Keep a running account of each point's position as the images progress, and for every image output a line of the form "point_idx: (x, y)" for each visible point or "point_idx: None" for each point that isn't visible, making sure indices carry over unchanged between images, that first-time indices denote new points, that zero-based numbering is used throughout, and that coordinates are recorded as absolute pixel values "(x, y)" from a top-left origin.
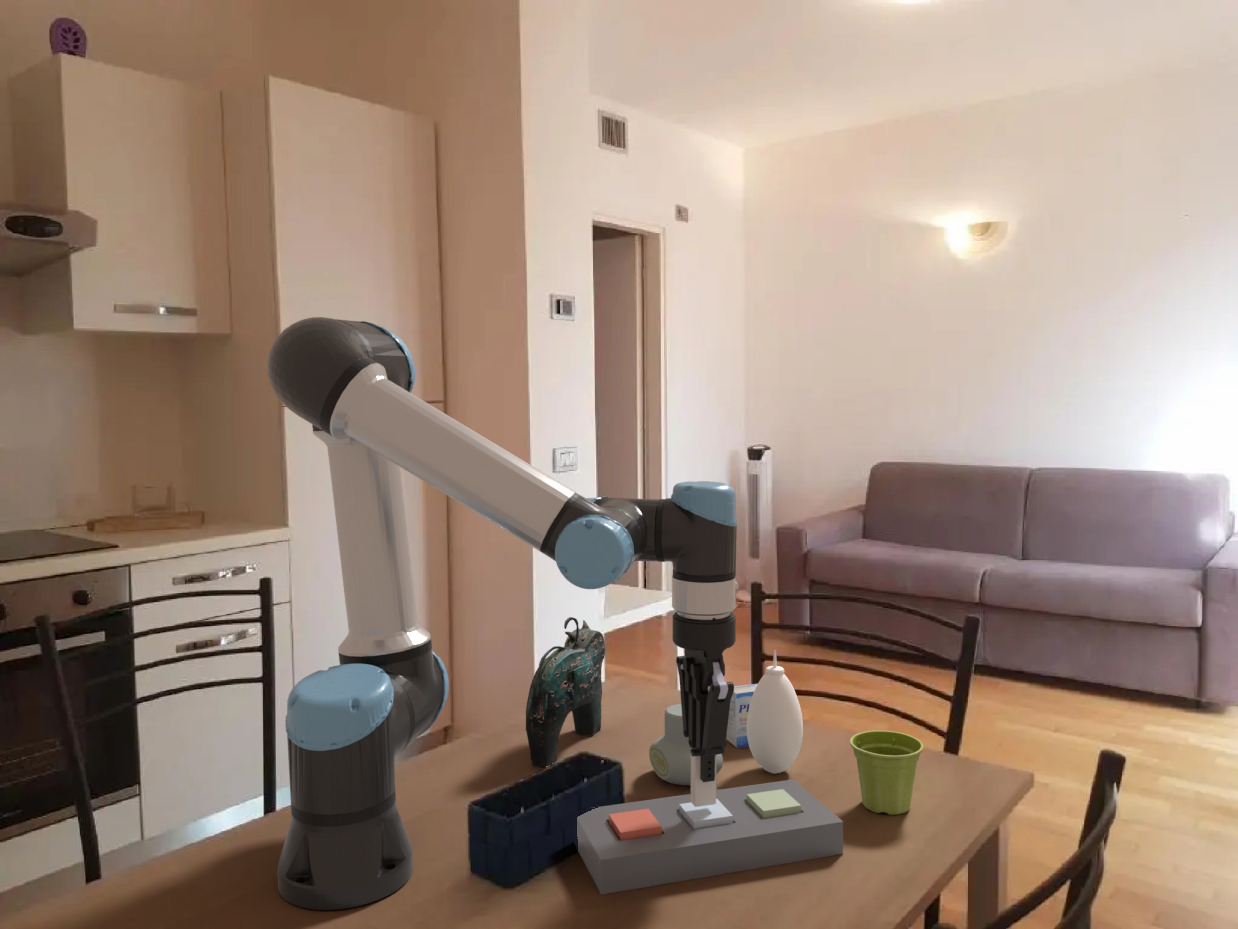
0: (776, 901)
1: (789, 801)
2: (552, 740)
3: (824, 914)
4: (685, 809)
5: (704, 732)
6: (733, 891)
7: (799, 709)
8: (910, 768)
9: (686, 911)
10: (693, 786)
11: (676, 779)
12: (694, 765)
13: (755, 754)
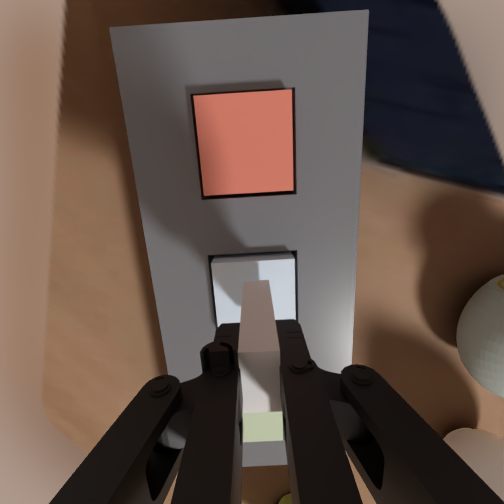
0: (91, 314)
1: (248, 433)
2: None
3: (55, 355)
4: (266, 263)
5: (121, 464)
6: (123, 270)
7: None
8: None
9: (75, 189)
10: (253, 298)
11: (475, 294)
12: (244, 329)
13: (481, 441)
